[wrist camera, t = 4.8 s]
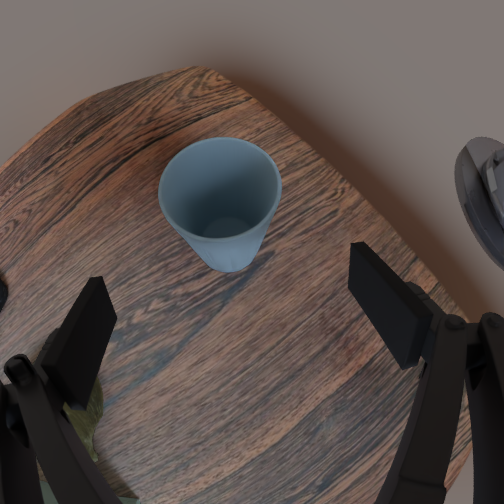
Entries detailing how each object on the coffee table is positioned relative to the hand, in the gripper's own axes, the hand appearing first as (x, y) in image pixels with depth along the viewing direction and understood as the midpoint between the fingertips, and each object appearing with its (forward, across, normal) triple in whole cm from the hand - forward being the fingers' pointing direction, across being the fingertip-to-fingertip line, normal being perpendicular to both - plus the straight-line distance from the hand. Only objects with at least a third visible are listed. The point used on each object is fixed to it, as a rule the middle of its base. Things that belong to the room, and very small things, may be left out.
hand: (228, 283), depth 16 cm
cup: (+13, 0, +4) cm, 13 cm away
